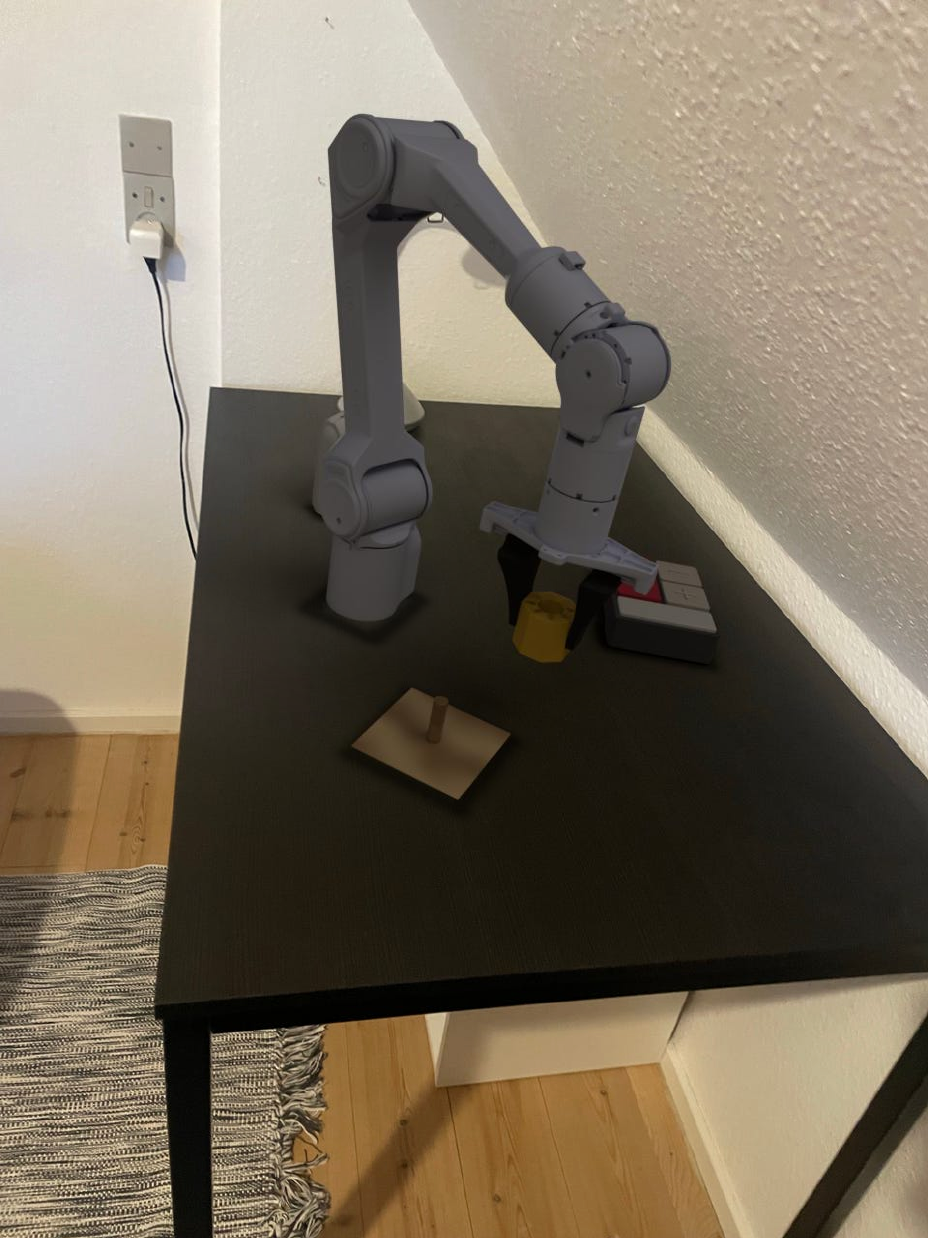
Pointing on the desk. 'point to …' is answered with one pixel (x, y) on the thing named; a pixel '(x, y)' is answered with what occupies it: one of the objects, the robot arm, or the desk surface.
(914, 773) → the desk surface
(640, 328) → the robot arm
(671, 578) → the calculator
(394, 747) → the stand
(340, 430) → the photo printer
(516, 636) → the sleeve
